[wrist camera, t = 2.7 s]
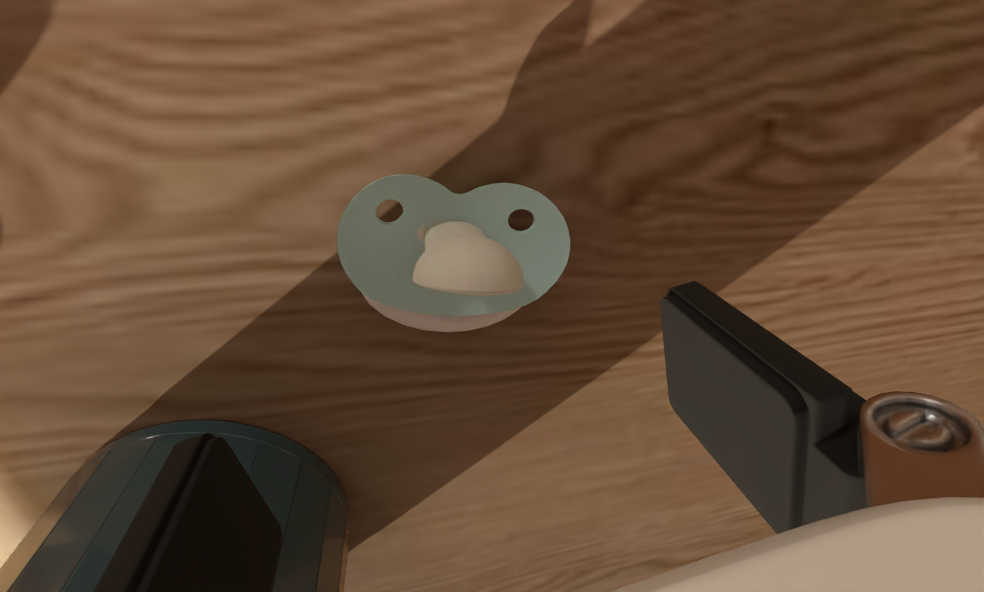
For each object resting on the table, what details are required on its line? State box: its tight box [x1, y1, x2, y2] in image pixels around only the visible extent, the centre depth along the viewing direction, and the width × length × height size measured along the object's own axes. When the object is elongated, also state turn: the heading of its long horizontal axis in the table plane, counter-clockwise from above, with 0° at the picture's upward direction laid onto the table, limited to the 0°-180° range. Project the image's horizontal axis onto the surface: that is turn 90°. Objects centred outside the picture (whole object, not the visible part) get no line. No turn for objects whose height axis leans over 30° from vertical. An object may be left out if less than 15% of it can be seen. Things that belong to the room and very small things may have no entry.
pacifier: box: [337, 174, 570, 332], centre depth 15 cm, size 7×6×6 cm
